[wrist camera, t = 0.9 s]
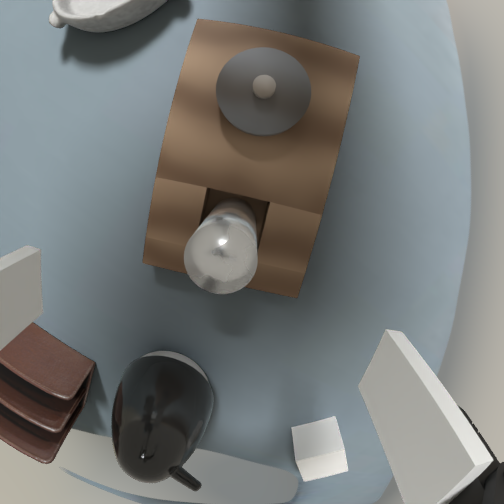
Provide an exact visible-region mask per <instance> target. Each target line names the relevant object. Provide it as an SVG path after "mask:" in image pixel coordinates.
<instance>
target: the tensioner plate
mask: <svg viewBox="0 0 504 504" xmlns="http://www.w3.org/2000/svg"><path fill="white" fill-rule="evenodd" d="M359 58H360V56H358V55H355V54H352V53H349V52H347V51H344V50H341V49H338V48H335V47H332V46H328V45H325V44H322V43H319V42H315V41H312V40H308V39H305V38H301V37H297V36H293V35H289V34H285V33H281V32H276V31H272V30H267V29H262V28H257V27H252V26H247V25H241V24H235V23H228V22H221V21H213V20H204V19H197V22H196V25H195V28H194V31H193V34H192V37H191V40H190V43H189V46H188V49H187V52H186V56H185V59H184V62H183V66H182V69H181V72H180V76H179V79H178V83H177V87H176V90H175V94H174V98H173V102H172V106H171V109H170V113H169V118H168V122H167V126H166V130H165V135H164V139H163V144H162V148H161V153H160V158H159V162H158V167H157V173H156V178H155V183H154V189H153V194H152V200H151V206H150V212H149V219H148V225H147V232H146V239H145V246H144V254H143V262H142V263H145V264H149V265H153V266H157V267H161V268H165V269H169V270H173V271H177V272H181V273H186V274H188V273H187V271H186V268H185V264H184V251H185V247H186V245H187V242H188V241H189V239H190V238H191V236H192V235H193V234H194V233H195V231H196V230H197V229H198V228H199V226H200V225H201V224H202V222H203V221H204V220H205V219H206V217H207V216H208V215H209V214H210V212H211V211H212V210H213V209H214V207H215V206H216V205H217V204H218V203H219V202H221V201H222V200H224V199H227V198H240V199H242V200H244V201H246V202H247V203H249V204H250V206H251V207H252V208H253V210H254V213H255V216H256V235H257V256H258V262H257V269H256V272H255V274H254V276H253V278H252V279H251V281H250V282H249V283H248V284H247V285H246V286H245V287H247V288H251V289H256V290H261V291H265V292H270V293H275V294H279V295H284V296H289V297H294V298H297V297H298V294H299V291H300V288H301V285H302V282H303V278H304V275H305V272H306V269H307V265H308V262H309V259H310V255H311V252H312V249H313V245H314V242H315V238H316V235H317V231H318V228H319V224H320V221H321V217H322V214H323V210H324V206H325V203H326V199H327V195H328V192H329V188H330V184H331V180H332V177H333V173H334V169H335V165H336V161H337V157H338V153H339V149H340V145H341V141H342V136H343V132H344V128H345V124H346V119H347V115H348V111H349V106H350V102H351V97H352V92H353V88H354V83H355V78H356V73H357V68H358V63H359Z"/></svg>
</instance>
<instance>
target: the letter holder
mask: <svg viewBox="0 0 504 504" xmlns="http://www.w3.org/2000/svg"><path fill="white" fill-rule="evenodd" d="M94 367H95V362H94V361H92V360H90V359H89V358H87V357H86V356H83V355H82V354H80V353H79V352H77V351H76V350H74V349H72V348H70V347H69V346H67V345H66V344H64V343H63V342H61V341H60V340H58V339H56V338H55V337H53V336H52V335H51V334H49V333H48V332H46V331H45V330H43V329H42V328H40V327H39V326H38V325H36V324H35V323H33V322H32V323H31V324H30V325H29V326H27V327H26V328H25V329H24V330H23V331H22V332H21V333H19V334H18V335H17V336H16V337H15V338H14V339H13V340H12V341H10V342H9V343H8V344H7V345H6V346H5V347H4V348H3V349H2V350H1V351H0V439H1V440H3V441H4V442H6V443H7V444H8V445H10V446H12V447H13V448H15V449H16V450H18V451H20V452H22V453H23V454H25V455H27V456H29V457H31V458H33V459H35V460H37V461H39V462H41V463H45V464H48V463H51V462H52V461H53V460H54V458H55V457H56V454H57V453H58V451H59V449H60V447H61V445H62V444H63V442H64V440H65V438H66V436H67V435H68V433H69V431H70V430H71V428H72V426H73V424H74V423H75V421H76V419H77V418H78V416H79V414H80V413H81V411H82V409H83V408H84V406H85V402H86V398H87V395H88V391H89V386H90V383H91V379H92V375H93V371H94Z"/></svg>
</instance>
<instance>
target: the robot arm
mask: <svg viewBox="0 0 504 504" xmlns="http://www.w3.org/2000/svg"><path fill="white" fill-rule="evenodd" d="M41 314H43V303H42V285H41V249H38V248H35V247H31V246H28V245H26V246H24V247H22V248H20V249H18V250H16V251H14V252H11V253H9V254H7V255H5V256H3V257H1V258H0V351H1V350H2V349H3V348H4V347H5V346H6V345H7V344H8V343H9V342H10V341H12V340H13V339H14V338H15V337H16V336H17V335H18V334H19V333H21V332H22V331H23V330H24V329H25V328H26V327H27V326H29V325H30V324H31V323H32V322H33V321H34V320H35V319H37V318H38V317H39V316H40V315H41ZM358 388H359V390H360V392H361V395H362V397H363V400H364V402H365V404H366V407H367V409H368V412H369V414H370V417H371V419H372V421H373V424H374V426H375V429H376V431H377V434H378V436H379V439H380V441H381V444H382V446H383V449H384V452H385V454H386V457H387V459H388V462H389V465H390V467H391V470H392V472H393V475H394V477H395V480H396V483H397V486H398V488H399V491H400V494H401V497H402V499H403V502H404V504H504V462H502V463H501V464H500V463H499V461H498V460H497V458H496V457H495V455H494V454H493V452H492V451H491V449H490V448H489V446H488V444H487V443H486V442H485V440H484V438H483V437H482V435H481V434H480V433H478V429H477V428H476V427H475V425H474V424H472V421H471V419H470V418H469V417H468V415H467V414H466V412H465V411H464V410H463V409H462V408H460V407H459V406H458V405H457V404H456V403H455V402H454V400H453V399H452V398H451V396H450V395H449V393H448V392H447V391H446V389H445V388H444V386H443V385H442V384H441V382H440V381H439V379H438V378H437V377H436V375H435V374H434V373H433V371H432V370H431V369H430V367H429V366H428V365H427V363H426V362H425V361H424V359H423V358H422V357H421V356H420V354H419V353H418V352H417V350H416V349H415V348H414V346H413V345H412V344H411V343H410V341H409V340H408V339H407V337H406V336H405V335H404V334H403V332H401V331H394V330H388V329H386V330H385V332H384V334H383V336H382V338H381V341H380V343H379V345H378V347H377V349H376V351H375V353H374V355H373V358H372V360H371V362H370V364H369V366H368V368H367V370H366V372H365V374H364V376H363V377H362V379H361V381H360V383H359V385H358Z"/></svg>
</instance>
